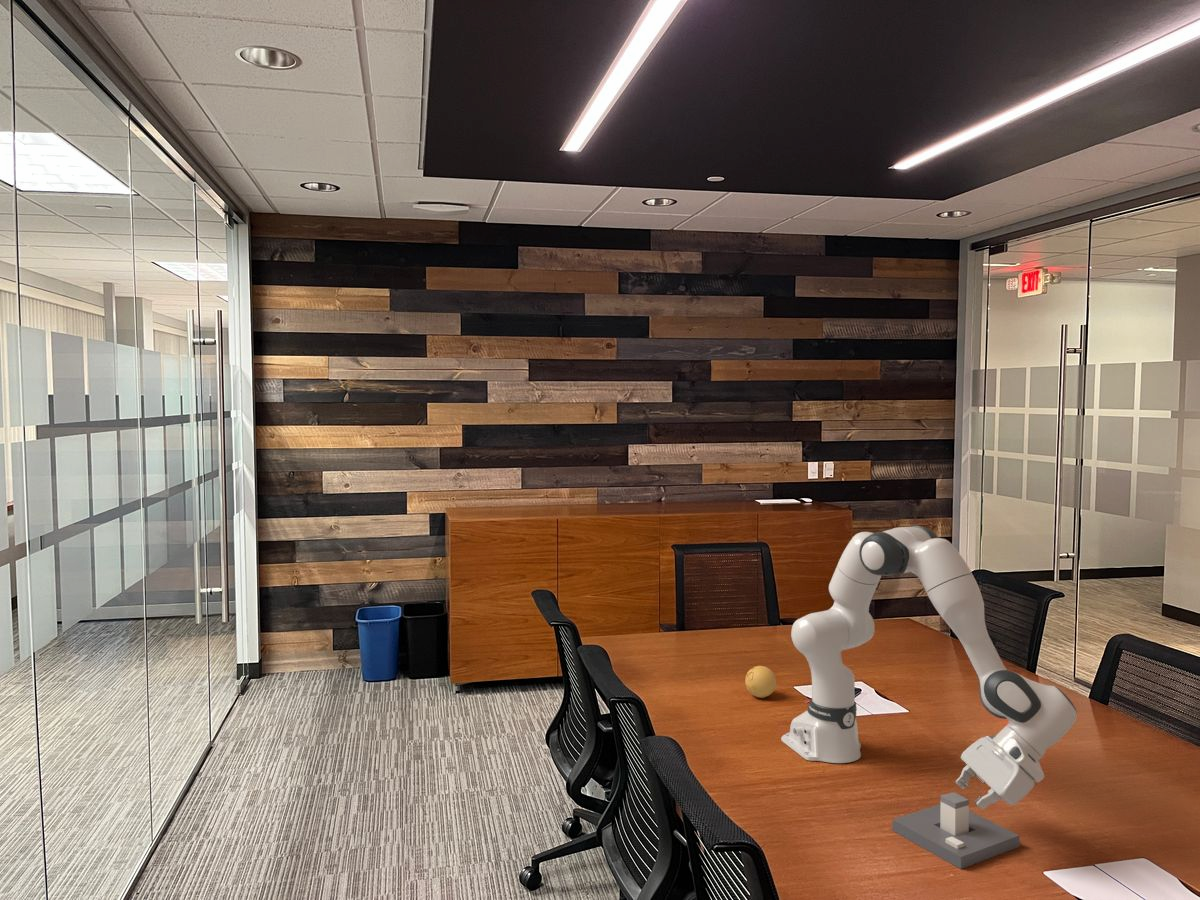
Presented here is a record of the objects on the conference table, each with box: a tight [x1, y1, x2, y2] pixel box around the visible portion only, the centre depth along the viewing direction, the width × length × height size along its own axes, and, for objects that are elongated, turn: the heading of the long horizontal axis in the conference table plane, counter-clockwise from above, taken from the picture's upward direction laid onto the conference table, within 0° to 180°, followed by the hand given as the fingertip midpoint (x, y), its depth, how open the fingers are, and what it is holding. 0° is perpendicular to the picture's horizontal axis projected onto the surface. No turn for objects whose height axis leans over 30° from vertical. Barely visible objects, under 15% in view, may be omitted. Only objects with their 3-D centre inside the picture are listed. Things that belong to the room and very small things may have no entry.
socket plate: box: [892, 803, 1021, 870], centre depth 184 cm, size 18×18×3 cm
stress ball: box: [744, 665, 777, 699], centre depth 275 cm, size 10×10×10 cm
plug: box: [940, 792, 970, 837], centre depth 184 cm, size 4×4×9 cm
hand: (968, 795), depth 184 cm, fingers open, 8 cm apart
